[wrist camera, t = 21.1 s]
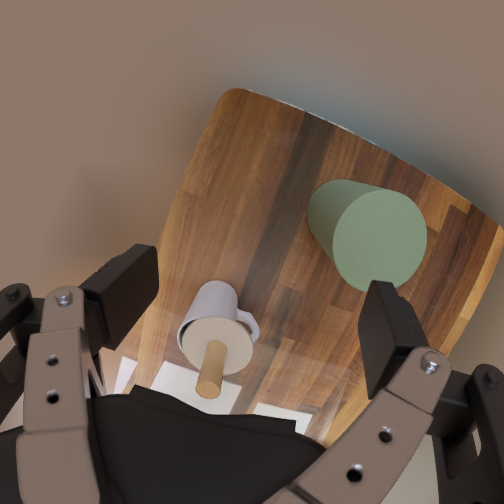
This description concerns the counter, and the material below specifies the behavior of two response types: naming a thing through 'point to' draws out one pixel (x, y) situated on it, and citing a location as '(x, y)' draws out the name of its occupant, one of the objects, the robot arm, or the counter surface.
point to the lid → (216, 351)
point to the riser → (367, 232)
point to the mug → (217, 308)
